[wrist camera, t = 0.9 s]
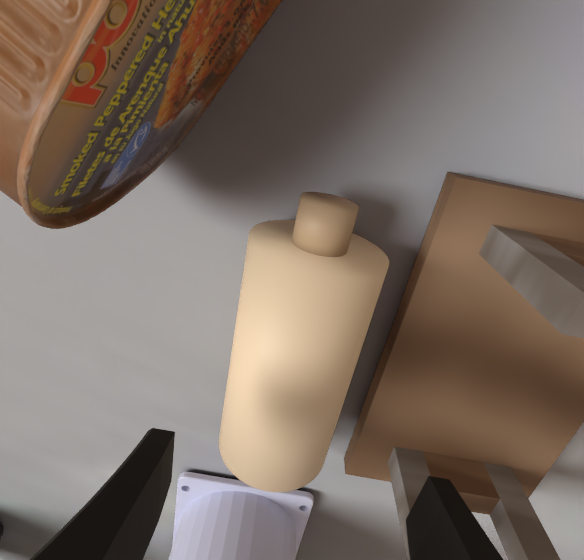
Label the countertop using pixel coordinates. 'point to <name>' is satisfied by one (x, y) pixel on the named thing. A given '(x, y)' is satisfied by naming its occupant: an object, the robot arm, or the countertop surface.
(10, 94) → the tin
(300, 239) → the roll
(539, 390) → the holder
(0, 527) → the drinking cup
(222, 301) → the countertop surface
